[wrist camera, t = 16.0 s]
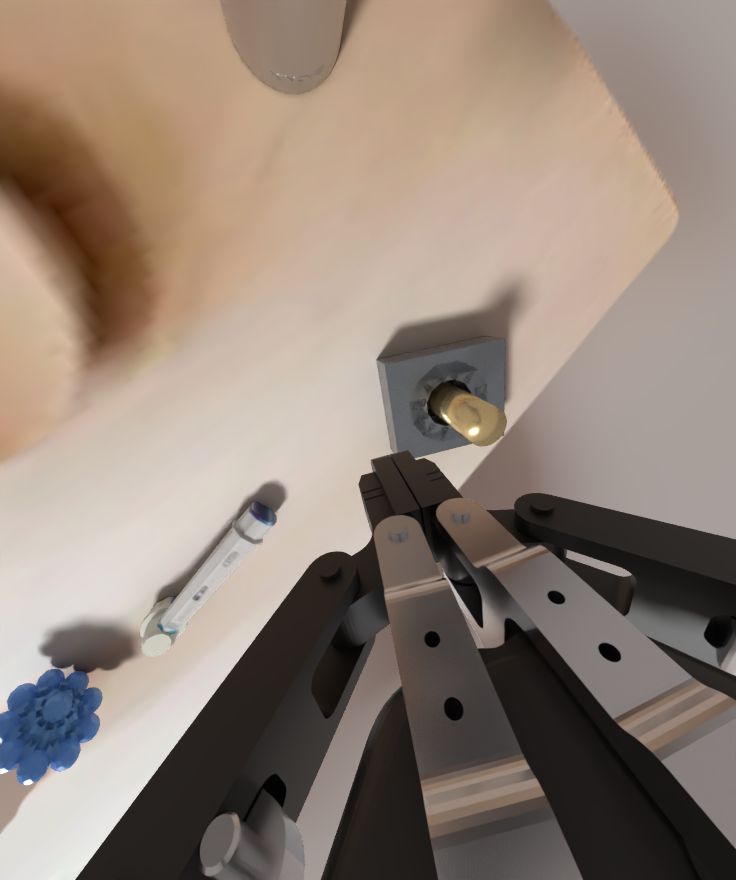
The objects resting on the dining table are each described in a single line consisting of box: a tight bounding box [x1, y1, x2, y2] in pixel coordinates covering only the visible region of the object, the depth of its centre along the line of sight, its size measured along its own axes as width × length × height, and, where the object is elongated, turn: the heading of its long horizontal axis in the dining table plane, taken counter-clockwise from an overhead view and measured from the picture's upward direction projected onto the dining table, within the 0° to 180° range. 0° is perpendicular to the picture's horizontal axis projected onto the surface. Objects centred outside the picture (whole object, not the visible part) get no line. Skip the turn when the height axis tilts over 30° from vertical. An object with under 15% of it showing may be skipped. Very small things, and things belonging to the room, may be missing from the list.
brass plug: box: [427, 381, 507, 446], centre depth 34 cm, size 4×4×12 cm
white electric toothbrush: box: [140, 502, 277, 657], centre depth 41 cm, size 5×7×25 cm
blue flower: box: [0, 669, 102, 785], centre depth 40 cm, size 12×7×12 cm, turn 54°
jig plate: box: [377, 336, 505, 458], centre depth 38 cm, size 12×14×4 cm
